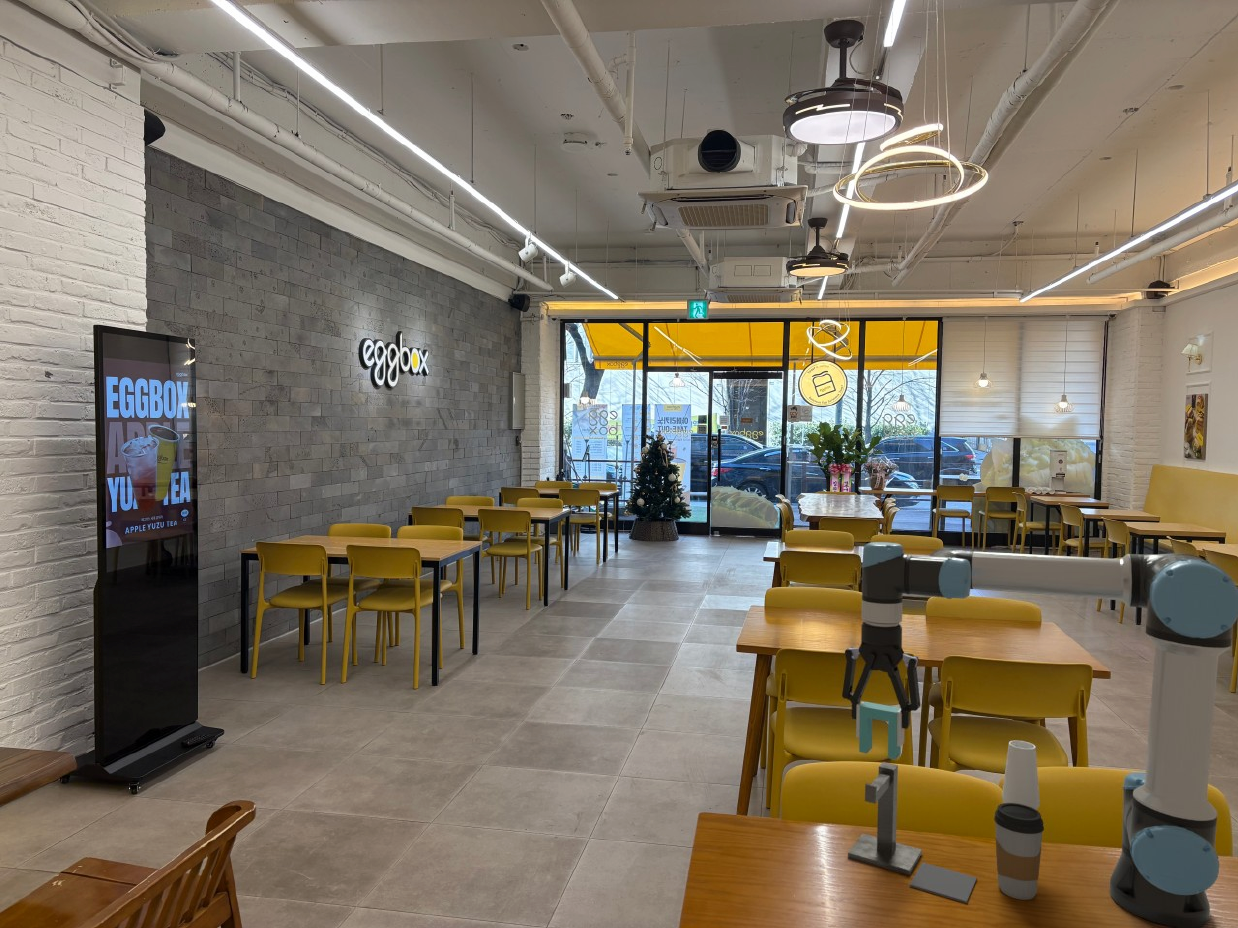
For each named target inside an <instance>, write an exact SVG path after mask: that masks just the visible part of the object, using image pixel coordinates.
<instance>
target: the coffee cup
mask: <svg viewBox="0 0 1238 928" xmlns="http://www.w3.org/2000/svg"><path fill="white" fill-rule="evenodd" d="M993 820H994V822H995V850H996V851H995V853H996V871H997V881H998V882H997V883H998V887H999V889H1000V891H1001V892H1002V893H1003V894H1004V895H1006V896H1008V897H1010V898H1013V899H1016V900H1024V901H1025V900H1027V901H1028V900H1032V899H1034V898H1035V896H1036V895H1037V890H1038V880H1039V877H1040V875H1039V874H1040V867H1041V865H1040V864H1041V854H1042V840H1043V832H1044V830H1045V827H1044V820H1043V819H1042V814H1041V813H1040V812H1039V810H1038V809H1037V810H1035V809H1033V808H1031V807H1029V806H1026V805H1022V804H1016V803H1004V802H1003V803H1000V804H999V805H997V809H996V810H995V811H994V818H993Z"/></svg>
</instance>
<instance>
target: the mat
mask: <svg viewBox="0 0 1238 928" xmlns="http://www.w3.org/2000/svg"><path fill="white" fill-rule="evenodd" d="M977 880H978V878H977V877H976V876H973V875H969V874H966V873H961V872H959V871H955V870H952V869H947V868H944V867H941V866H937V865H933V864H930V863H927V862H926V863H925V862H921V864H920V866H919V867H918V869H917V871H916V873H915V874H914V876H913V878H912V879H911V881H910V883H909V887H911V888H913V889H917V890H920V891H924V892H928V893H929V894H930V893H931V894H934V895H937V896H940V897H944V898H948V899H951V900H953V901H957V902H960V903H964V904H968V902H969V899H970V896H972V895H971V894H972V892H973V890H974V887H975V885H976V882H977Z"/></svg>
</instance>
